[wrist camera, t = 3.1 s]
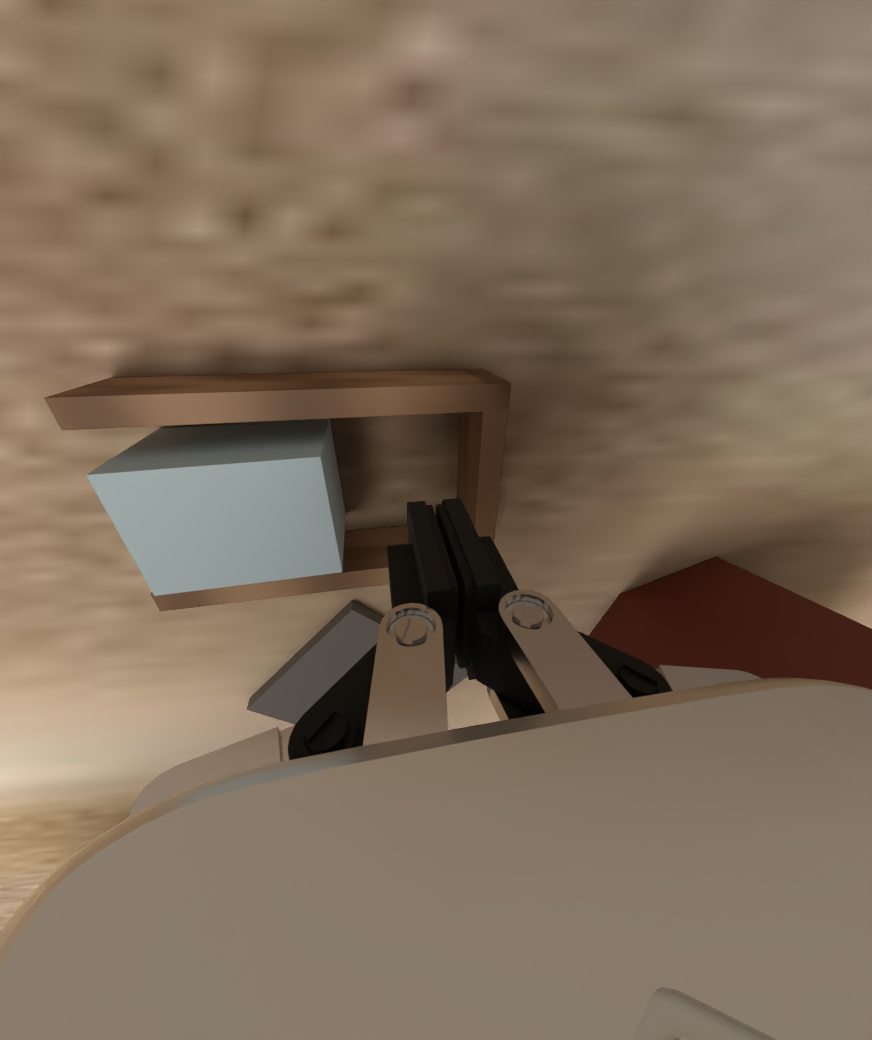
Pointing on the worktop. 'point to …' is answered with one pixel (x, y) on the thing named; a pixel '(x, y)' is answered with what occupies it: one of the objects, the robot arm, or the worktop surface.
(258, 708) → the mat
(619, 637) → the bucket
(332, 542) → the block
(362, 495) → the worktop surface
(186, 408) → the shelf bay
